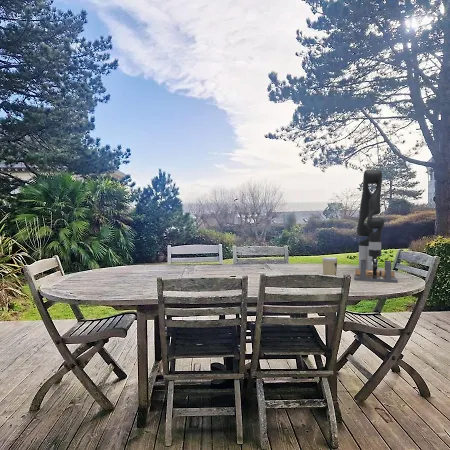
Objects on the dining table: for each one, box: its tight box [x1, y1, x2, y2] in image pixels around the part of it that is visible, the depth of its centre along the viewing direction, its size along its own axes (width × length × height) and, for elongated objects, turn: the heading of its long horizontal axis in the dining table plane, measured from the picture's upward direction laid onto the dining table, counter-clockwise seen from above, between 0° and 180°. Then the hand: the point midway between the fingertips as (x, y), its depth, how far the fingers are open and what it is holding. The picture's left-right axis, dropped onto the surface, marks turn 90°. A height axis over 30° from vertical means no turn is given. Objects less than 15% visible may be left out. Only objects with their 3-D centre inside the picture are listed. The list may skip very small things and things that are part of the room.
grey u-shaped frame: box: [353, 260, 399, 284], centre depth 230 cm, size 10×24×12 cm, turn 70°
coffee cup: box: [321, 256, 338, 277], centre depth 242 cm, size 9×9×12 cm
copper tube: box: [354, 269, 395, 277], centre depth 242 cm, size 23×4×4 cm, turn 70°
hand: (374, 274), depth 242 cm, fingers open, 8 cm apart
